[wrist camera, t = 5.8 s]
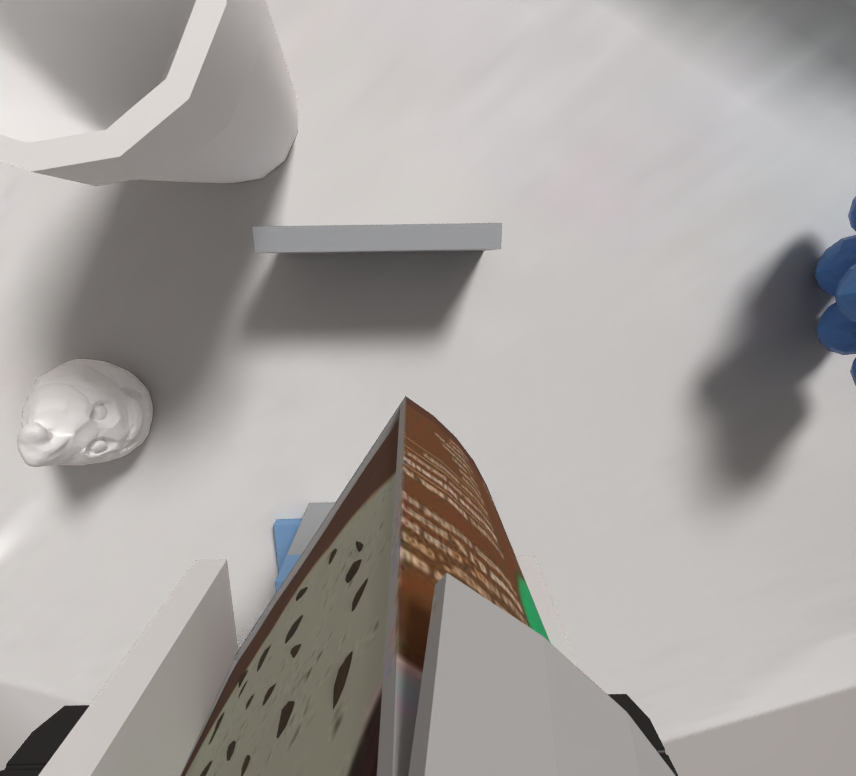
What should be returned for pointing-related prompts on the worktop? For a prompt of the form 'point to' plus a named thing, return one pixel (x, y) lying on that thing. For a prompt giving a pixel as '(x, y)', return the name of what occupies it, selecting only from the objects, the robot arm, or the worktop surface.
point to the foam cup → (144, 90)
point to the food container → (412, 644)
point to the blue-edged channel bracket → (357, 239)
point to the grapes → (839, 294)
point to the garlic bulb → (84, 415)
